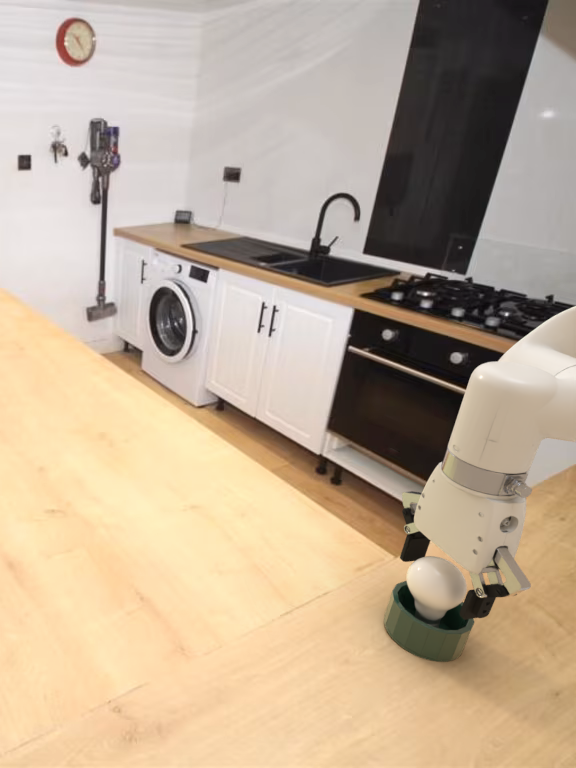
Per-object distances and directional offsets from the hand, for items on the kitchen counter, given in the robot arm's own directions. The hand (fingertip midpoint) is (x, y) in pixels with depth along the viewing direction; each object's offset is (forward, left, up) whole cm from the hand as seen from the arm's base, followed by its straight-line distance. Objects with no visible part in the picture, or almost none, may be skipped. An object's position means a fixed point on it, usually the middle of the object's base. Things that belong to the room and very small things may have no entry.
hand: (440, 586), depth 68 cm
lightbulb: (0, 0, -8) cm, 8 cm away
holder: (0, 0, -8) cm, 8 cm away
